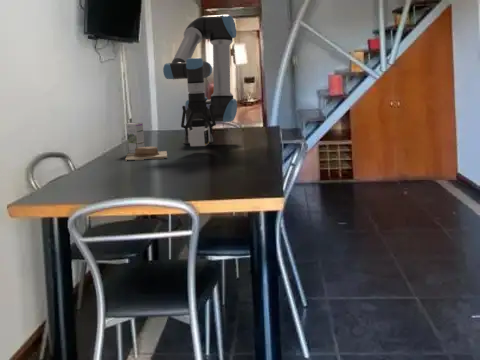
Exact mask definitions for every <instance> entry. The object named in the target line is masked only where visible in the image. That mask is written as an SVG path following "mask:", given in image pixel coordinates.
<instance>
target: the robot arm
mask: <svg viewBox="0 0 480 360" xmlns="http://www.w3.org/2000/svg"><path fill="white" fill-rule="evenodd" d="M236 37H237V25H236V23H235V20H234V18H233V16H232V15H231V14H218V15H217V14H216V15H214V14H213V15H202V16H200V17H197V18H195V19H194V20H193V21H191V22H190V23H189V24H188V25H187V26H186V28H185V29H184V32H183V39H182V40H181V42H180V45H179V47H178V49H177V51H176V52H175V55H174V57H173V59H172V61H171V62H168V63H165V64H164V65H163V68H162V71H163V77H164V78H165V79H166V80H182V79H185V80H186V79H187V81H186V83H187V92H188V94H187V98H188V99H187V100H186V101H185V104H184V105H182V107H181V109H182V116H181V122H180V127H181V128H183V129H184V130H185V134H184V138H183V143H184V144H186V145H190V134H189V131H191V130H193V128H192V120H193V119H204V120H205V128H206V129H208V141H209V144H210V143H214V138H213V127H215V126H216V125H217V123H228V122H229V123H230V122H233V121H234V120H235V119H236V117H237V113H238V101H237V99H235V98H234V95H233V93H231V49H230V48H231V46H230V45H231V44H232V43H233V39H235V38H236ZM203 40H209V43H210V44H211V45H212V57H213V58H212V59H213V60H212V62H213V64H210V63H209V62H207V61H205V60H204V59H203V58H202V57H193V55H194V53H195V51H196V48H197V47H198V44H200V43H201V42H202V41H203ZM212 65H213V66H212ZM212 73H213V74H212ZM211 75H213V77H212V78H213V93H212V94H211V95H210V99H208V97H207V96H206V94H205V79H206V78H209V76H211Z"/></svg>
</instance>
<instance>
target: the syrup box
mask: <svg viewBox="0 0 480 360" xmlns="http://www.w3.org/2000/svg"><path fill="white" fill-rule="evenodd" d="M125 126H126V136H127V149H128V153H135V148H140V147H145V137H144V123H143V122H128V123H126V125H125Z"/></svg>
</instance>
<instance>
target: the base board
mask: <svg viewBox="0 0 480 360" xmlns="http://www.w3.org/2000/svg"><path fill="white" fill-rule="evenodd" d="M164 158H167V159H168V153H167V150H162V151H158V147H157V146H144V147H140V148H135V153H129V152H128V153H127V154H126V157H125V162H128V161H127V160H135V161H145V160H144V159H152V160H165V159H164Z"/></svg>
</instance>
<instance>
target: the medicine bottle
mask: <svg viewBox="0 0 480 360" xmlns="http://www.w3.org/2000/svg"><path fill="white" fill-rule="evenodd" d="M192 128H193V130H191V131H189V134H190V144H189V145H190V147H206V146H208V145H209V144H210V143H209V141H208V129H206V128H205V120H204V119H193V120H192Z"/></svg>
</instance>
